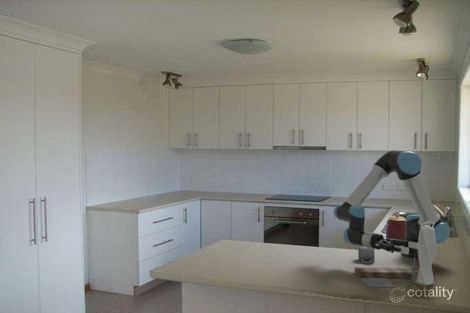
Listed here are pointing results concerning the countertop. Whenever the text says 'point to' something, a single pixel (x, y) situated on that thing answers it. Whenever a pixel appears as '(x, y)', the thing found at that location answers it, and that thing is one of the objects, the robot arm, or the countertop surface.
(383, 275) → the walnut board
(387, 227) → the canister
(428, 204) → the robot arm
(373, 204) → the countertop surface
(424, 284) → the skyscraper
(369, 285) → the end pad
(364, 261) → the ceramic mug
